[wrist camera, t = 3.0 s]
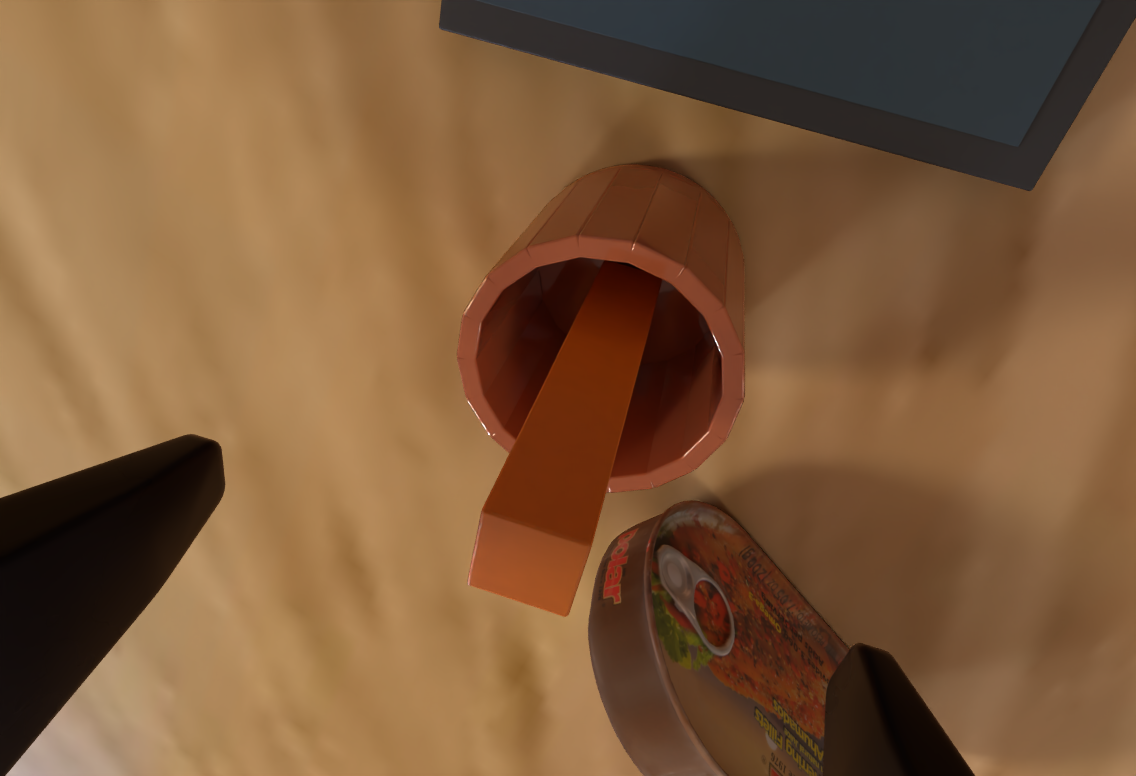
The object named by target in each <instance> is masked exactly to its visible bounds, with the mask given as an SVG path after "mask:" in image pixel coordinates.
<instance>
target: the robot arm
mask: <svg viewBox="0 0 1136 776" xmlns="http://www.w3.org/2000/svg"><path fill="white" fill-rule="evenodd" d="M224 490H225V477H224V467H223V457H222V449H221V446H220V445H219V443H218V442H216V441H214V440H211V439H208V438H204V437H201V436H198V435H194V434H188V435H184V436H181V437H178V438H175V439H172V440H169V441H166V442H163V443H160V444H157V445H154V446H152V447H149V448H146V449H143V450H140V451H137V452H134V453H131V454H128V455H125V456H122V457H119V458H116V459H113V460H111V461H108V462H105V463H102V464H99V465H96V466H93V467H90V468H87V469H84V470H81V471H78V472H75V473H72V474H70V475H67V476H64V477H61V478H58V479H55V480H52V481H49V482H46V483H43V484H40V485H37V486H34V487H31V488H29V489H26V490H23V491H20V492H17V493H14V494H11V495H8V496H5V497H2V498H0V776H5V775H6V774H7V773H8V772H9V771H10V770H11V768H12V767H13V766H14V765H15V764H16V762H17V761H18V760H19V759H20V758H21V756H22V755H23V754H24V753H25V752H26V750H27V749H28V748H29V747H30V746H31V744H32V743H33V742H34V741H35V740H36V738H37V737H38V736H39V735H40V734H41V732H42V731H43V730H44V729H45V728H46V726H47V725H48V724H49V723H50V722H51V720H52V719H53V718H54V717H55V716H56V714H57V713H58V712H59V711H60V710H61V708H62V707H63V706H64V705H65V704H66V702H67V701H68V700H69V699H70V698H71V696H72V695H73V694H74V693H75V692H76V690H77V689H78V688H79V687H80V686H81V684H82V683H83V682H84V681H85V680H86V679H87V677H88V676H89V675H90V674H91V673H92V671H93V670H94V669H95V668H96V667H97V665H98V664H99V663H100V662H101V661H102V659H103V658H104V657H105V656H106V655H107V653H108V652H109V651H110V650H111V649H112V647H113V646H114V645H115V644H116V643H117V641H118V640H119V639H120V638H121V637H122V635H123V634H124V633H125V632H126V631H127V629H128V628H129V627H130V626H131V625H132V623H133V622H134V621H135V620H136V619H137V617H138V616H139V615H140V614H141V613H142V611H143V610H144V609H145V608H146V607H147V605H148V604H149V603H150V602H151V600H152V599H153V598H154V597H155V595H156V594H157V593H158V592H159V590H160V589H161V588H162V586H163V585H164V583H165V582H166V581H167V579H168V578H169V576H170V575H171V573H172V572H173V570H174V569H175V568H176V566H177V565H178V563H179V562H180V560H181V559H182V557H183V556H184V554H185V553H186V551H187V550H188V548H189V547H190V545H191V544H192V542H193V541H194V539H195V538H196V536H197V535H198V533H199V532H200V530H201V529H202V527H203V526H204V525H205V523H206V522H207V520H208V519H209V517H210V516H211V514H212V513H213V511H214V510H215V508H216V507H217V505H218V504H219V502H220V500H221V498H222V496H223V493H224ZM822 776H975V775H974V773H973V772H972V770H971V769H970V767H969V766H968V765H967V763H966V762H965V760H964V759H963V757H962V756H961V754H960V753H959V752H958V750H957V749H956V747H955V746H954V744H953V743H952V741H951V740H950V738H949V737H948V736H947V734H946V733H945V731H944V730H943V728H942V727H941V725H940V724H939V723H938V721H937V720H936V718H935V717H934V715H933V714H932V712H931V711H930V709H929V708H928V707H927V705H926V704H925V702H924V701H923V699H922V698H921V696H920V695H919V694H918V692H917V691H916V689H915V688H914V686H913V685H912V683H911V682H910V680H909V679H908V678H907V676H906V675H905V673H904V672H903V670H902V669H901V667H900V666H899V665H898V663H897V662H896V660H895V659H894V657H893V656H892V655H891V654H890V653H889V652H887V651H885V650H882V649H879V648H876V647H872V646H869V645H866V644H863V643H857V644H855V645H853V646H852V648H851V649H850V650H849V652H848V653H847V654H846V656H845V657H844V659H843V660H842V662H841V663H840V665H839V666H838V668H837V669H836V670H835V672H834V673H833V675H832V676H831V678H830V680H829V683H828V686H827V690H826V701H825V726H824V750H823V774H822Z"/></svg>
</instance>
